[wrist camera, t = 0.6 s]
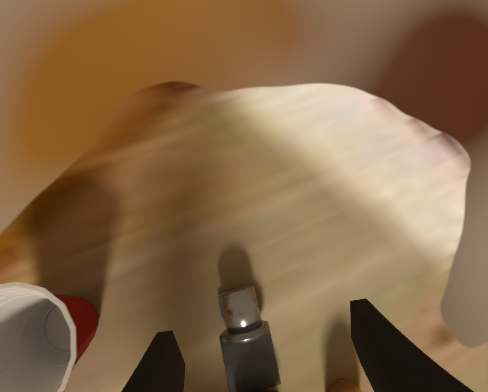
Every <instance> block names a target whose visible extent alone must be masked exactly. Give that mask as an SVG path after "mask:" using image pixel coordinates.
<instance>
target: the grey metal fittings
mask: <svg viewBox="0 0 488 392" xmlns="http://www.w3.org/2000/svg"><path fill="white" fill-rule="evenodd" d="M218 295H219V301H220V306H221V311H222V315H224V317H225V322H226V327H227V329H225V330H224V331H223V332H222V335H223V337H220V343H221V348H222V353H223V359H224V364H225V369H226V375H227V380H228V385H229V391H230V392H255V391H257V392H277V391H274V390H262V389H265V388H268V387H272V386H275V385H279V384H281V382H280V377H279V372H278V368H277V363H276V358H275V354H274V349H273V344H272V340H271V335H270V330H269V326H268V323H267V322H266V321H263V320H261V316H260V311H259V306H258V301H257V297H256V292H255V287H254V286H252V285H251V286H243V287H238V288H233V289H230V290H227V291H224V292H222V293H220V294H218ZM258 390H262V391H258Z"/></svg>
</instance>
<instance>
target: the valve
mask: <svg viewBox="0 0 488 392" xmlns="http://www.w3.org/2000/svg"><path fill="white" fill-rule="evenodd" d="M326 392H362V391H361V390H360V389H359V388H358V387H357V386H356V385H355V384H354V383H352V382H351V381H349V380H347V379H338V380H336V381H334V382H333V383H331V384H330V386H329V387H328V389H327V391H326Z"/></svg>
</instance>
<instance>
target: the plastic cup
mask: <svg viewBox="0 0 488 392" xmlns="http://www.w3.org/2000/svg"><path fill="white" fill-rule="evenodd" d="M97 326H98V316H97V312H96V310H95V308H94V307H93V305H92V304H90V303H89V302H88V301H86V300H85V299H82V298H78V297H73V296H64V295H55V294H52V293H51V292H49V291H48V290H47V289H45V288H43V287H39V286H35V285H30V284H26V283H22V282H13V283H7V284H0V392H63V390H64V389H65V388H66V386H67V383H68V380H69V378H70V375H71V372H72V370H73V368H74V366H75V364H76V363H77V361H78V360H79V359H80V357H81V356H82V354H83V353H84V352H85V350H86V349H87V347H88V346H89V343H90V342H91V340H92V339H93V337H94V336H95V332H96V329H97Z"/></svg>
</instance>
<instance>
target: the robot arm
mask: <svg viewBox="0 0 488 392" xmlns="http://www.w3.org/2000/svg"><path fill="white" fill-rule="evenodd" d="M350 312H351V338H352V341H353V344H354V346H355V349H356V352H357V355H358V357H359V360H360V363H361V365H362V367H363V369H364V371H365V373H366V375H367V377H368V380H369V382H370V384H371V386H372V388H373V390H374V392H474V391H472V390H471V389H469V388H468V387H467V386H465V385H464V384H463V383H461V382H460V381H459V380H457V379H456V378H455V377H453V376H452V375H451V374H449V373H448V372H447V371H446V370H444V369H443V368H442V367H441V366H439V365H438V364H437V363H436V362H434V361H433V360H432V359H431V358H430V357H428V356H427V355H426V354H425V353H424V352H422V351H421V350H420V349H419V348H418V347H417V346H415V345H414V344H413V343H412V342H411V341H410V340H409V339H408V338H407V337H405V336H404V335H403V334H402V333H401V332H400V331H399V330H398V329H397V328H396V327H395V326H394V325H392V324H391V323H390V322H389V321H388V320H387V319H386V318H385V317H384V316H383V315H382V314H381V313H380V312H379V311H378V310H377V309H376V308H375V307H374V306H373V305H372V304H371V303H370V302H369V301H368V300H367V299H360V300H354V301H350ZM184 376H185V362H184V360H183V357H182V354H181V352H180V349H179V347H178V344H177V341H176V339H175V336H174V334H173V331H172V330H171V331H165V332H158V333H157V334H156V335H155V337H154V339H153V340H152V342H151V344H150V346H149V347H148V349H147V351H146V352H145V354H144V356H143V358H142V359H141V361H140V363H139V364H138V366H137V368H136V369H135V371H134V372H133V374H132V376H131V377H130V379H129V380H128V382H127V384H126V385H125V387H124V388H123V390H122V392H183V390H184Z"/></svg>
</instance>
